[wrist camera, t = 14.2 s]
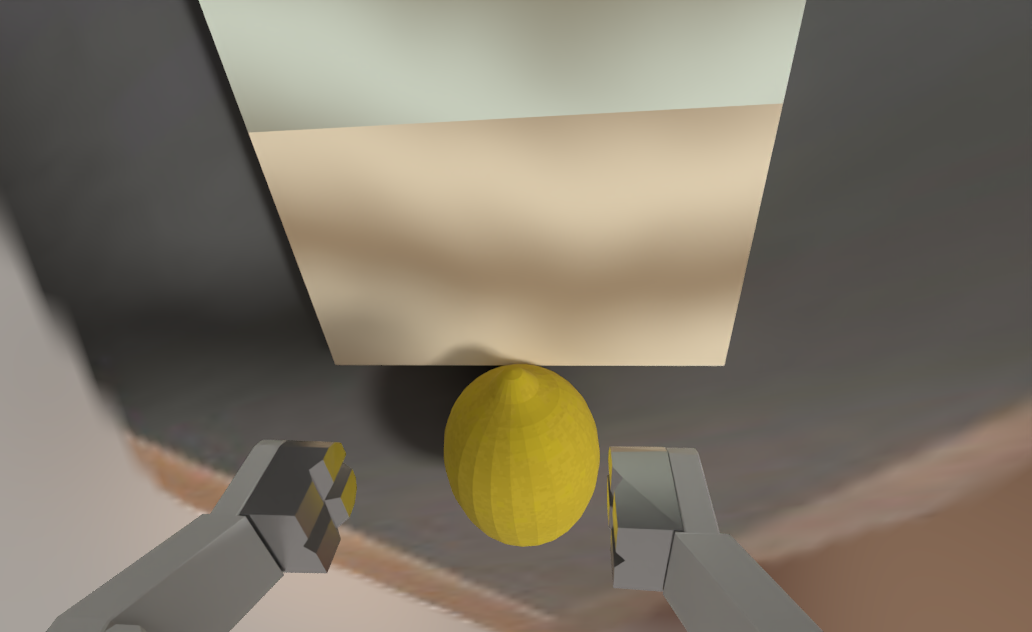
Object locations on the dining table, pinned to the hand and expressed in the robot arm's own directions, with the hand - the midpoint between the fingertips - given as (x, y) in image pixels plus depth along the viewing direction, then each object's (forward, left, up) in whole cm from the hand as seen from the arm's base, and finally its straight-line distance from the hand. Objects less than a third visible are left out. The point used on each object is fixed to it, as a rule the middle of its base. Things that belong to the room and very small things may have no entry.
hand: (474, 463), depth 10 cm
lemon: (+2, 0, -6) cm, 6 cm away
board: (-5, 0, -8) cm, 10 cm away
